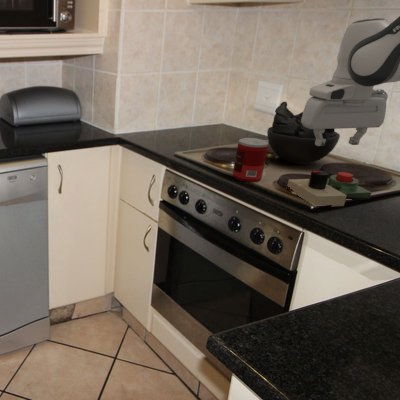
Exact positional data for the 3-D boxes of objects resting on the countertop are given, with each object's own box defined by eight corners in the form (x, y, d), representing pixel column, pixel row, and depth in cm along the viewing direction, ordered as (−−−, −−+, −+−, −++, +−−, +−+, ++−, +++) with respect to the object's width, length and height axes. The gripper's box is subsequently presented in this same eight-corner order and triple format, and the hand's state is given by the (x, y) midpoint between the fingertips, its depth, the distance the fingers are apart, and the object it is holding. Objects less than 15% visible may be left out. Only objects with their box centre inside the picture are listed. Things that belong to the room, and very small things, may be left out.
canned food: (266, 179, 138) (274, 142, 134) (250, 184, 134) (257, 146, 130) (243, 171, 144) (249, 136, 140) (226, 176, 140) (233, 140, 135)
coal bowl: (347, 165, 148) (361, 105, 142) (306, 176, 140) (318, 111, 133) (289, 151, 165) (299, 96, 158) (249, 159, 156) (258, 101, 150)
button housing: (369, 200, 124) (373, 185, 123) (341, 201, 123) (345, 186, 122) (339, 184, 134) (343, 171, 133) (313, 185, 133) (317, 172, 132)
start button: (354, 182, 126) (356, 176, 125) (342, 182, 126) (344, 176, 125) (345, 177, 129) (347, 171, 129) (333, 178, 129) (334, 172, 128)
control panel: (344, 206, 120) (347, 194, 119) (314, 207, 119) (317, 195, 118) (313, 188, 131) (316, 177, 130) (285, 189, 130) (288, 178, 129)
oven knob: (318, 183, 126) (322, 168, 125) (328, 189, 123) (333, 173, 121) (304, 184, 126) (308, 168, 124) (314, 189, 122) (318, 174, 120)
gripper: (378, 87, 120) (364, 140, 125) (304, 88, 117) (292, 142, 123) (399, 91, 114) (383, 147, 119) (321, 92, 112) (308, 149, 117)
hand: (336, 144), depth 121 cm, fingers open, 8 cm apart
